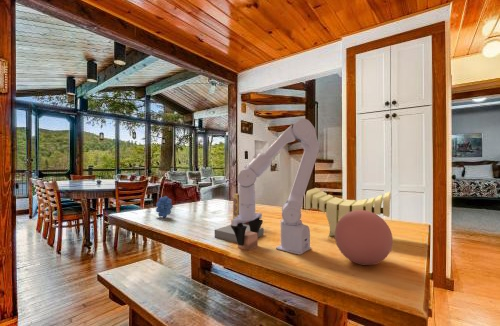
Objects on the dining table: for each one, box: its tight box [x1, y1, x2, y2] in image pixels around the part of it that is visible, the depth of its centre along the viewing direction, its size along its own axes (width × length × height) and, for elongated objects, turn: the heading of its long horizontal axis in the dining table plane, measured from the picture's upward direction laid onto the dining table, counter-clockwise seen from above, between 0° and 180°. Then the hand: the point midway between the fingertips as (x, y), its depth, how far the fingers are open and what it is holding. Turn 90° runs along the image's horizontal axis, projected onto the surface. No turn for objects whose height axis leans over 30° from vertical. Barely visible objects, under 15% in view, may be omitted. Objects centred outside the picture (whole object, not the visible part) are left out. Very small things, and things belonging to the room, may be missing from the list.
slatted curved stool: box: [304, 187, 392, 238], centre depth 102 cm, size 30×16×18 cm, turn 59°
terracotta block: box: [237, 231, 259, 252], centre depth 89 cm, size 5×5×5 cm
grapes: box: [155, 195, 174, 219], centre depth 139 cm, size 12×7×12 cm, turn 64°
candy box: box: [232, 192, 249, 225], centre depth 119 cm, size 9×4×15 cm, turn 123°
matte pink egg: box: [334, 210, 394, 266], centre depth 76 cm, size 15×20×15 cm
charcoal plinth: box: [214, 224, 264, 244], centre depth 102 cm, size 14×14×3 cm
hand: (247, 242), depth 89 cm, fingers open, 7 cm apart
